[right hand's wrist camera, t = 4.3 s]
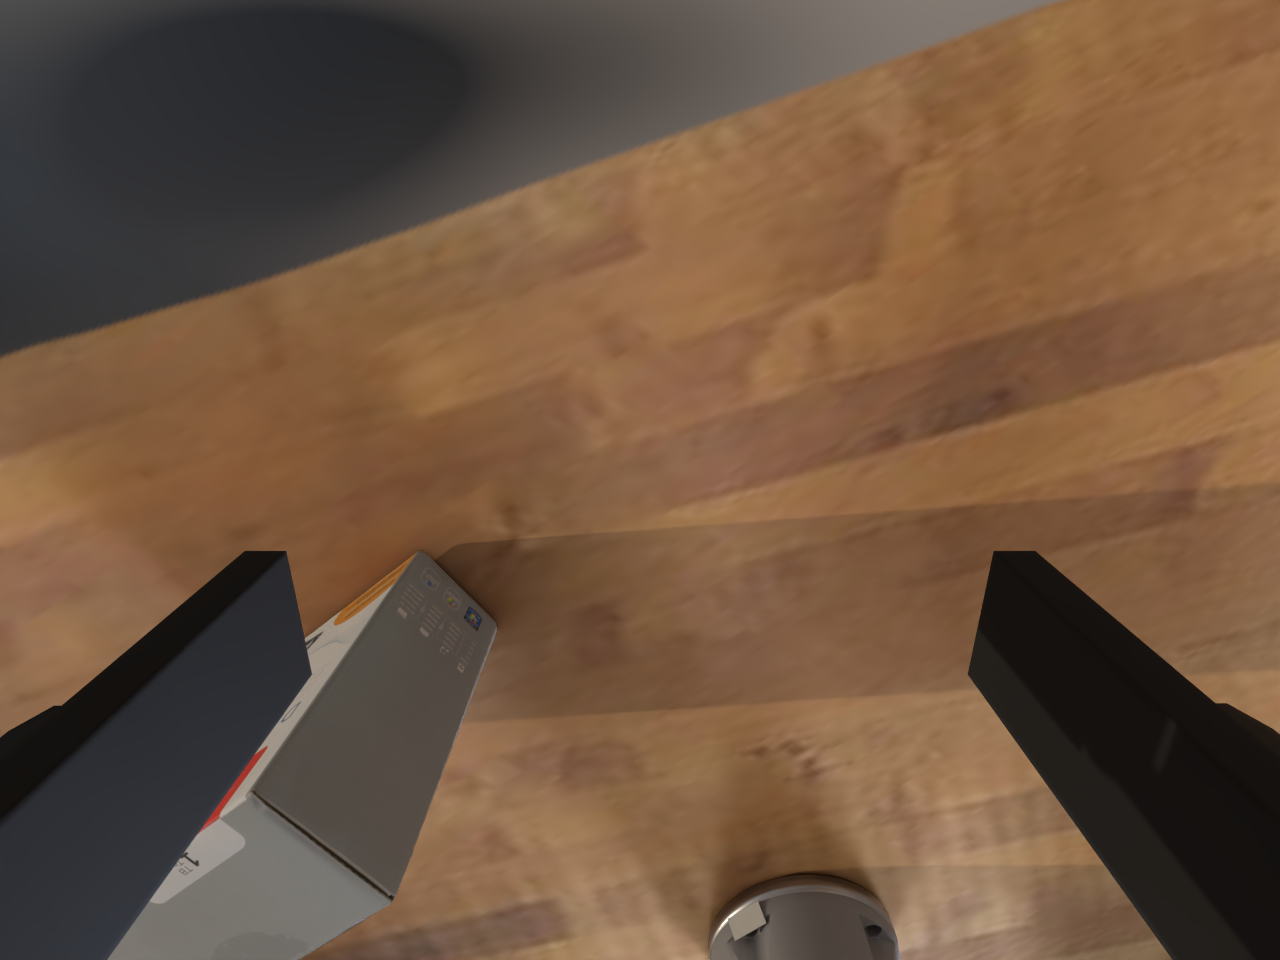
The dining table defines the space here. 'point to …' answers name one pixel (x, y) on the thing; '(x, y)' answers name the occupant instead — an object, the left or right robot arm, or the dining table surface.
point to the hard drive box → (330, 783)
